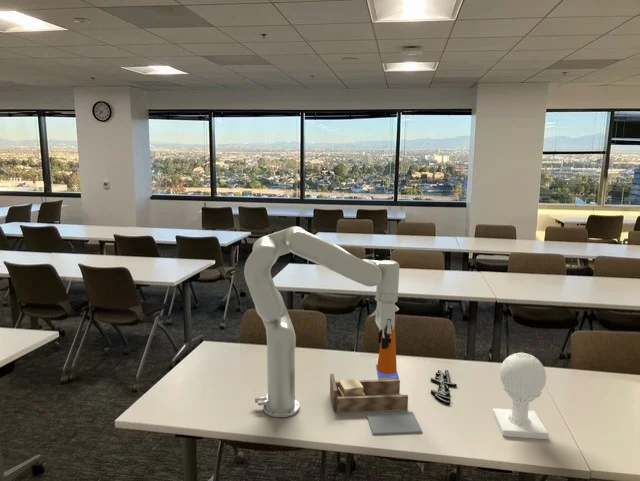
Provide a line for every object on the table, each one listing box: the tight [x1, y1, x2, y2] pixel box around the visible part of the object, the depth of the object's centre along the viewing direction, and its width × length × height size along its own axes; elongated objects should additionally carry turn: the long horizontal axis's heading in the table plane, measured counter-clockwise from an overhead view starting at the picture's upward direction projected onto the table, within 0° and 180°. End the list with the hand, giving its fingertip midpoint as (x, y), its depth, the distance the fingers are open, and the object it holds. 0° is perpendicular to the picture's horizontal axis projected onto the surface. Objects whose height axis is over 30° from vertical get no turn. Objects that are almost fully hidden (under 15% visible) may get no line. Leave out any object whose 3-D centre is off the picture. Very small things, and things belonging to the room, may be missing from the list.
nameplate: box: [430, 369, 457, 406], centre depth 181 cm, size 27×2×10 cm
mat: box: [365, 411, 423, 436], centre depth 156 cm, size 16×12×1 cm
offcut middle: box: [337, 387, 366, 397], centre depth 169 cm, size 8×7×2 cm
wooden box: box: [329, 373, 409, 413], centre depth 170 cm, size 26×13×8 cm, turn 94°
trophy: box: [492, 352, 549, 440], centre depth 153 cm, size 14×14×25 cm
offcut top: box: [338, 378, 364, 396], centre depth 169 cm, size 7×7×2 cm
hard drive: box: [375, 363, 400, 380], centre depth 194 cm, size 2×8×12 cm
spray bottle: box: [369, 296, 400, 374], centre depth 167 cm, size 7×11×26 cm, turn 65°
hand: (384, 345), depth 167 cm, fingers closed on spray bottle, 4 cm apart
